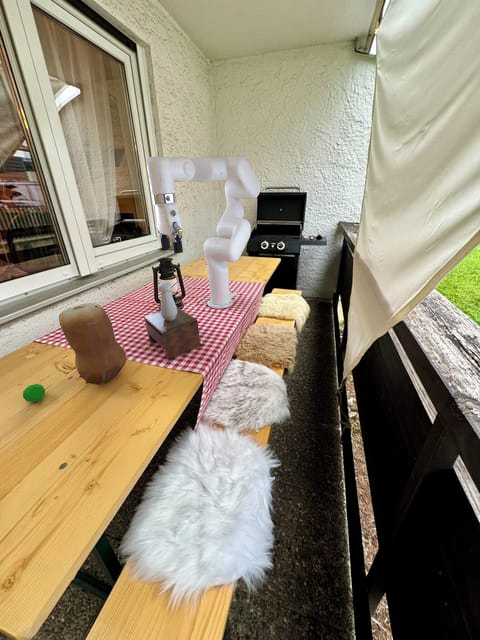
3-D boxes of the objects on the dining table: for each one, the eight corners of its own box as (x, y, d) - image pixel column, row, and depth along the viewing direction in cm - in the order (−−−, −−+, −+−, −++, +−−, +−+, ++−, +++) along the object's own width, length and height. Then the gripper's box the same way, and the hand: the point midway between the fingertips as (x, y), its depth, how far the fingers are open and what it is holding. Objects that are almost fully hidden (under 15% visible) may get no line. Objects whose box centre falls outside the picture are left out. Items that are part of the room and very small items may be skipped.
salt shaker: (174, 322, 89) (168, 287, 83) (158, 321, 90) (151, 286, 84) (180, 314, 94) (175, 280, 88) (166, 313, 95) (160, 280, 89)
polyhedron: (24, 408, 71) (17, 395, 69) (29, 396, 75) (22, 383, 73) (46, 402, 73) (39, 389, 71) (49, 390, 77) (43, 378, 74)
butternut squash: (98, 363, 88) (73, 296, 76) (136, 363, 87) (117, 295, 75) (73, 393, 75) (39, 318, 63) (118, 393, 75) (92, 318, 63)
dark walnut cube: (179, 329, 106) (175, 305, 101) (200, 345, 95) (197, 319, 90) (149, 341, 99) (143, 316, 94) (168, 360, 88) (163, 333, 83)
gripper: (187, 199, 83) (193, 252, 91) (163, 198, 95) (170, 245, 103) (165, 201, 79) (174, 257, 87) (143, 199, 91) (152, 248, 99)
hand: (172, 250), depth 95 cm, fingers open, 9 cm apart
